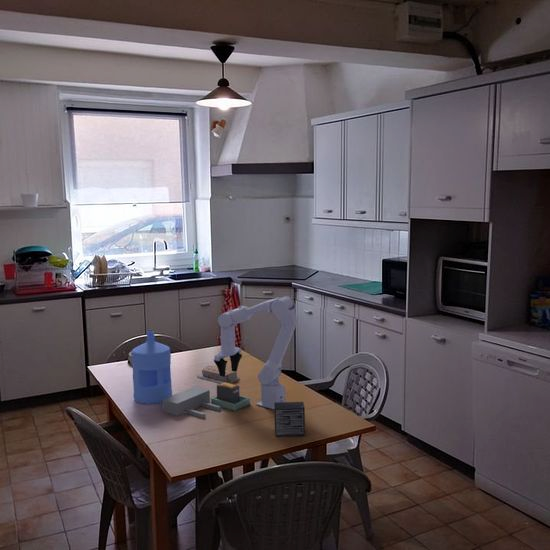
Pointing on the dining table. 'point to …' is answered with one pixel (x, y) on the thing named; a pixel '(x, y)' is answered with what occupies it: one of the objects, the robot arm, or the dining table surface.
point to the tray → (243, 402)
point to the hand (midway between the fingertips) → (228, 373)
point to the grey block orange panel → (228, 392)
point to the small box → (289, 419)
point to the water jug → (151, 371)
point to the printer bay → (189, 402)
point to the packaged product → (218, 375)
